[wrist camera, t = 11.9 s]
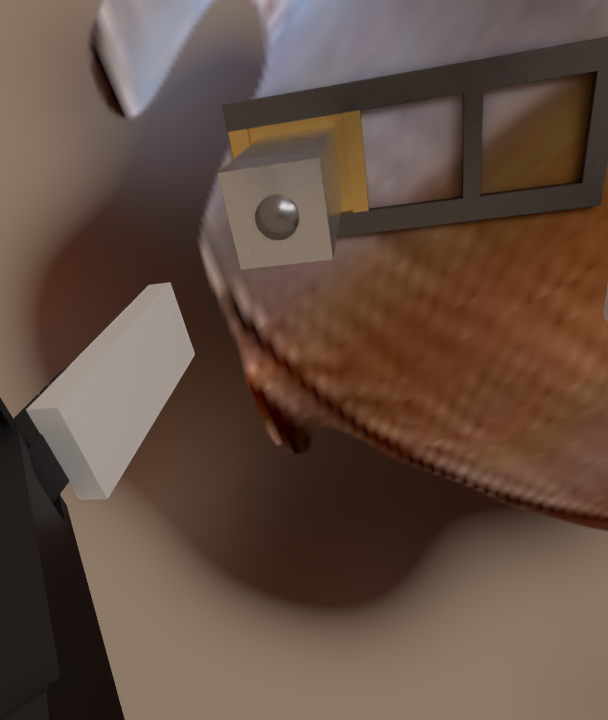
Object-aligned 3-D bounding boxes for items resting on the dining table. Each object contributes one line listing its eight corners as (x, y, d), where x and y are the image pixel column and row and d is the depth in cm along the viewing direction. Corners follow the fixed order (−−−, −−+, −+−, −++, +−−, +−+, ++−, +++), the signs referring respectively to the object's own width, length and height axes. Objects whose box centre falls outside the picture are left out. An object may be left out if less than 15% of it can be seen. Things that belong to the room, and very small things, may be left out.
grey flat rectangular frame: (597, 203, 33) (600, 205, 32) (254, 244, 37) (253, 246, 37) (623, 33, 28) (627, 33, 27) (223, 104, 32) (221, 105, 32)
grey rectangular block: (342, 202, 34) (332, 260, 25) (274, 211, 35) (240, 271, 26) (333, 125, 32) (319, 158, 22) (259, 137, 33) (216, 174, 23)
